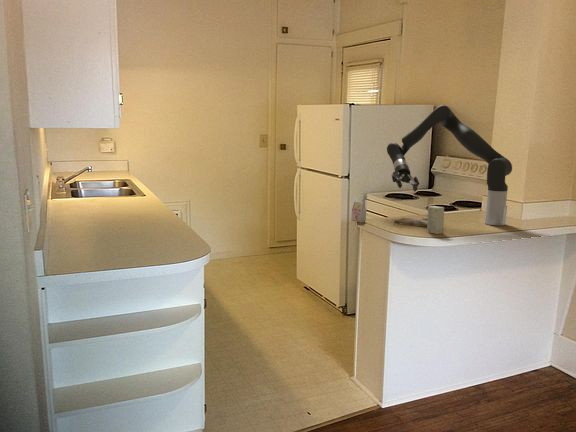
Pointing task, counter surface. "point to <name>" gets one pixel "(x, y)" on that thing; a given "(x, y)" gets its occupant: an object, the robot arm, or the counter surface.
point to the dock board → (413, 221)
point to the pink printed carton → (358, 212)
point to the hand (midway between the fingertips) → (408, 188)
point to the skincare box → (435, 219)
